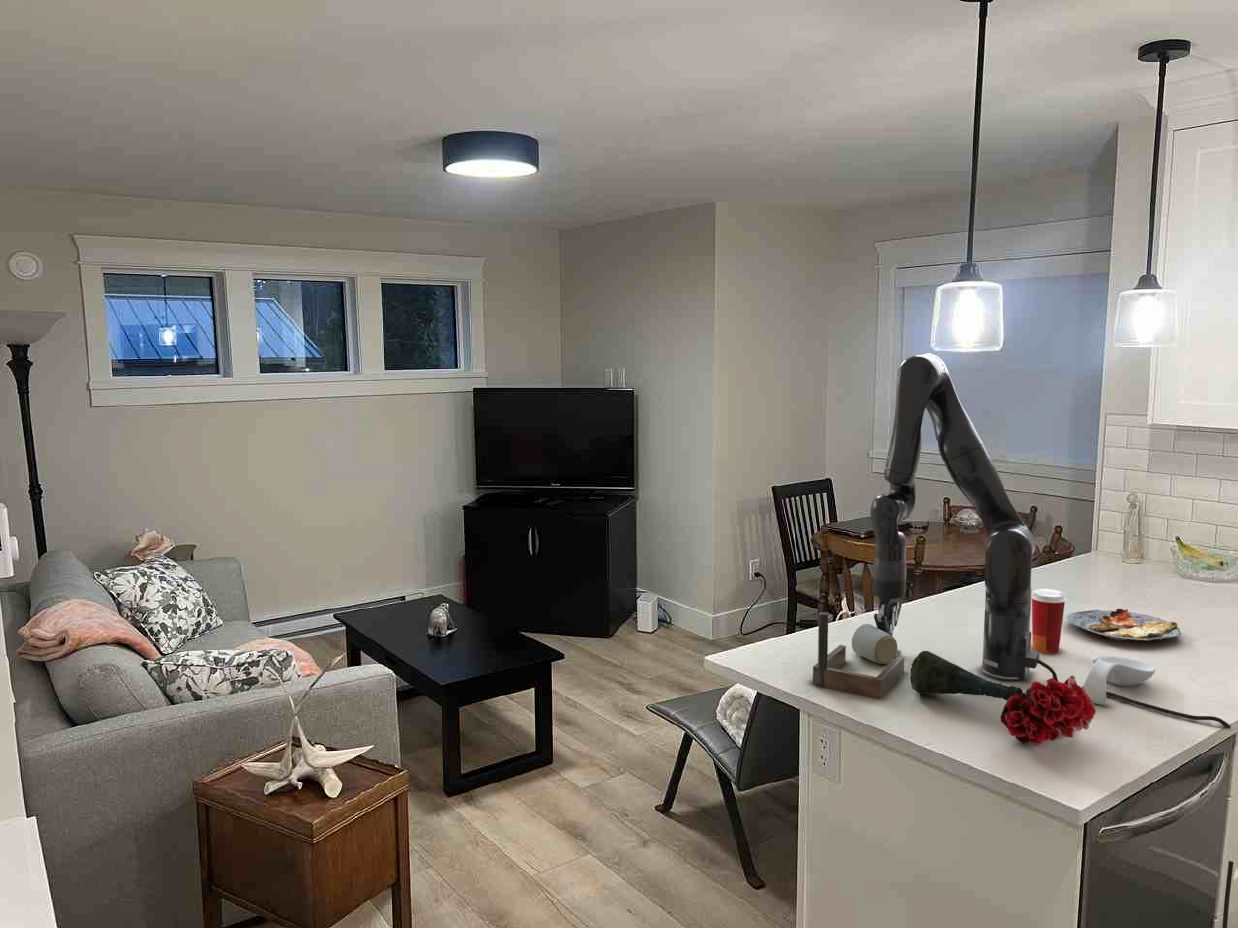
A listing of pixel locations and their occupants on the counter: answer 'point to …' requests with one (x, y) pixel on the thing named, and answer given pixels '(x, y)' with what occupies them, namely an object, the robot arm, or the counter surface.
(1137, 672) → the spoon rest
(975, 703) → the counter surface
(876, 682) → the wooden post tray
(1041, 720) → the carnation
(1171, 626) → the food plate
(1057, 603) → the paper cup
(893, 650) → the ceramic mug
